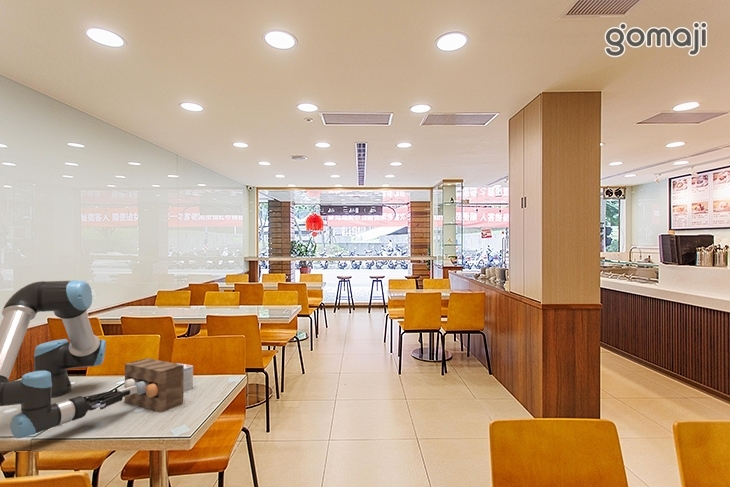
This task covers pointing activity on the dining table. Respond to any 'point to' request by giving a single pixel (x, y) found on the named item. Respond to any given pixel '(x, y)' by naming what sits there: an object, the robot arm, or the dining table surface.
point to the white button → (130, 382)
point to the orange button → (152, 390)
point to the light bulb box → (187, 377)
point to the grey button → (141, 387)
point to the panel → (160, 373)
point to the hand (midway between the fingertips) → (135, 389)
